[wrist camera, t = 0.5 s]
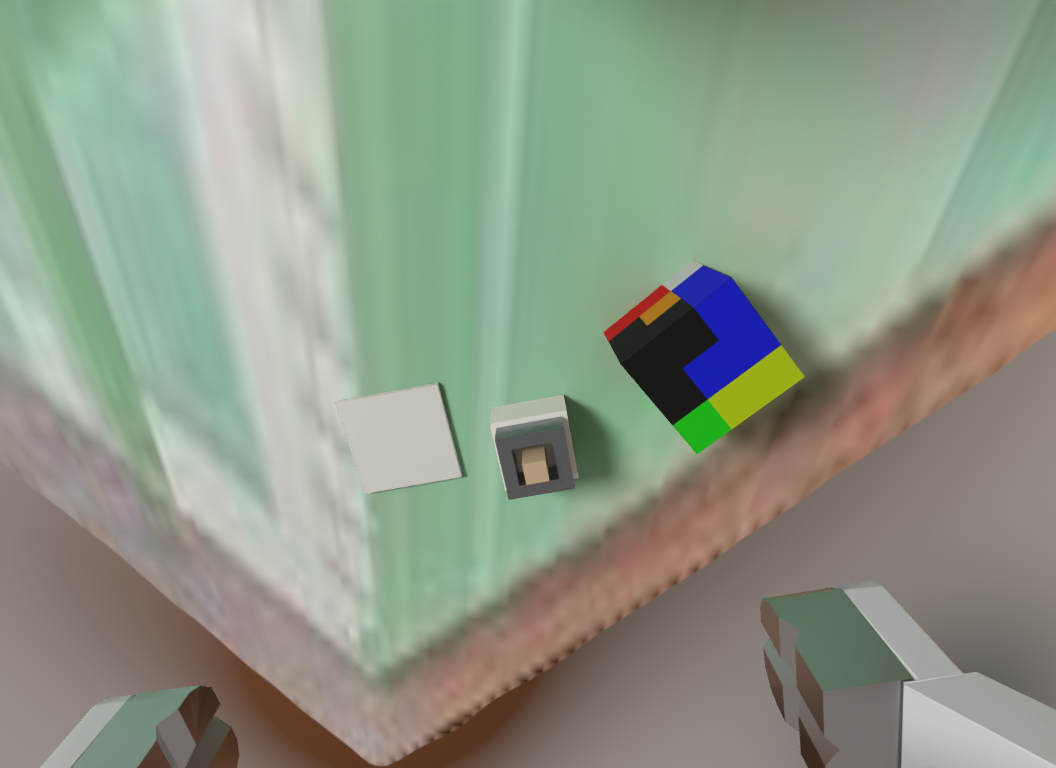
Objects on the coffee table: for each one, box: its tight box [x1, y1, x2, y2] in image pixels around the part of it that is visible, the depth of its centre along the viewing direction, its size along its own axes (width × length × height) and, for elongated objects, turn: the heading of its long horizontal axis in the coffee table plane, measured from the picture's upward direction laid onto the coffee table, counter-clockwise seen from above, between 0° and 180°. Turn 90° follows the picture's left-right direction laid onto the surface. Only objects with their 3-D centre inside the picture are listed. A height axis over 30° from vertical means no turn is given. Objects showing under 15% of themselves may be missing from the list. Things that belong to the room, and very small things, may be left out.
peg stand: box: [490, 395, 579, 491], centre depth 51 cm, size 7×7×8 cm
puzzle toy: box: [604, 260, 805, 454], centre depth 47 cm, size 10×10×10 cm
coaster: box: [335, 382, 462, 494], centre depth 55 cm, size 10×10×1 cm
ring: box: [495, 416, 575, 500], centre depth 50 cm, size 6×6×2 cm
